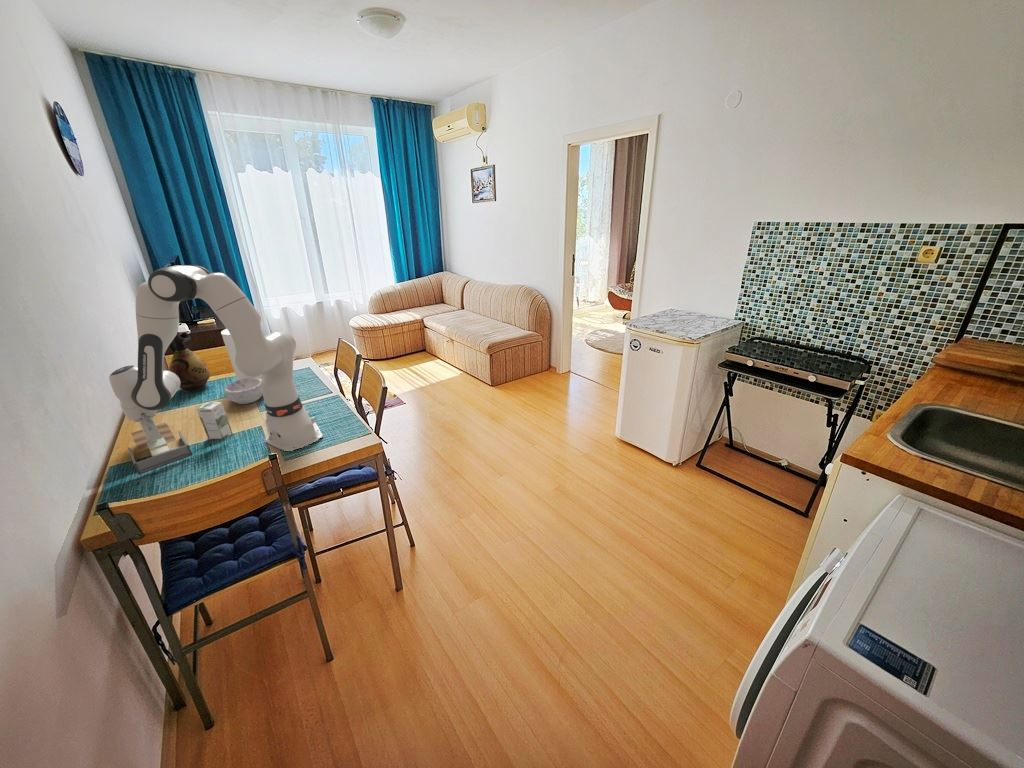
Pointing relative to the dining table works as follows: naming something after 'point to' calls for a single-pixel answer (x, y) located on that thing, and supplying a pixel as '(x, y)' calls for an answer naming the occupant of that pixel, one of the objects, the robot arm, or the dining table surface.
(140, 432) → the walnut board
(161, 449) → the cream tile
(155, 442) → the sage tile
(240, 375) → the cylinder
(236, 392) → the white purple floral bowl
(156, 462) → the grey bin
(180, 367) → the ceramic jug
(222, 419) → the syrup box
